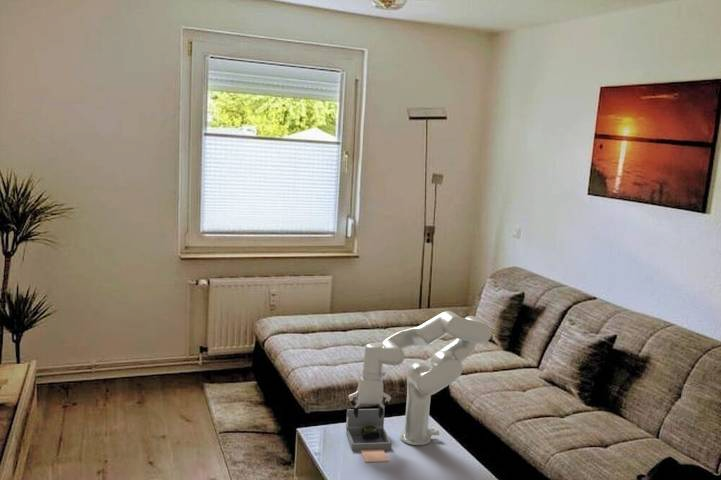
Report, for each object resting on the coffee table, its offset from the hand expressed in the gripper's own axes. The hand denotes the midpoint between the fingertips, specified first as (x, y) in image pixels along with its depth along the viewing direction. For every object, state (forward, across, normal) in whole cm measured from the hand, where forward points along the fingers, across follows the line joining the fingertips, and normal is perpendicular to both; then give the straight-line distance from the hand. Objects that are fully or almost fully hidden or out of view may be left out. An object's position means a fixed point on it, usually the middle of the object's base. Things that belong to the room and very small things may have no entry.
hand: (367, 416), depth 242 cm
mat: (+11, -1, +12) cm, 16 cm away
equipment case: (+11, -1, 0) cm, 11 cm away
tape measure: (+11, -1, 0) cm, 11 cm away
